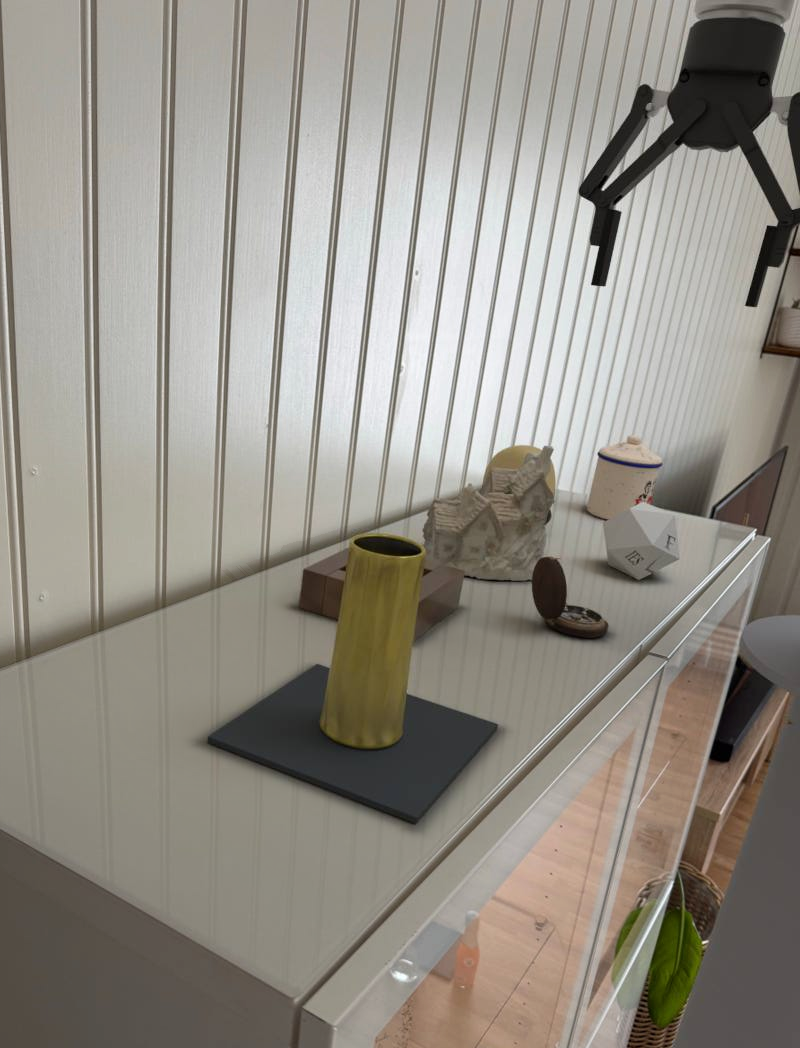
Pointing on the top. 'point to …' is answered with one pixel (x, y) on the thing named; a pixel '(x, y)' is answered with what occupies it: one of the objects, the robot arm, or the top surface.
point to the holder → (434, 601)
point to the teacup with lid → (623, 478)
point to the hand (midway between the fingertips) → (672, 296)
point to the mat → (360, 774)
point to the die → (641, 540)
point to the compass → (562, 602)
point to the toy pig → (519, 464)
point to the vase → (373, 641)
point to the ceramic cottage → (494, 523)
